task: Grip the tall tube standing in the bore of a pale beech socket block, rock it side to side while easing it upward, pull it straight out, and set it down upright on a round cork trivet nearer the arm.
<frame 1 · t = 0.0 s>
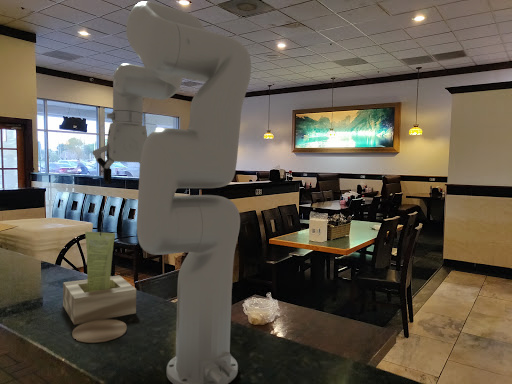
hand: (126, 184, 104), 31 cm above the counter, fingers open, 9 cm apart
tube: (98, 310, 97), resting in socket block
trivet: (100, 331, 85), on the counter
socket block: (98, 309, 97), on the counter
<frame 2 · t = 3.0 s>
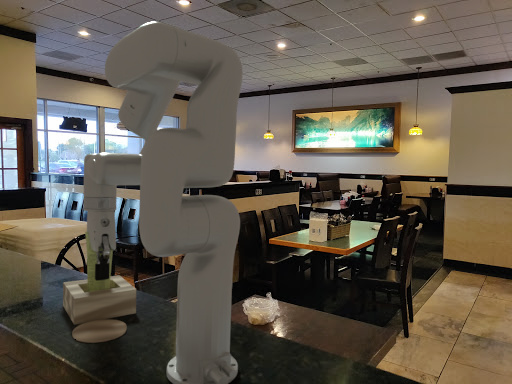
hand: (99, 275, 97), 8 cm above the counter, fingers closed on tube, 4 cm apart
tube: (98, 310, 97), resting in socket block, touching gripper
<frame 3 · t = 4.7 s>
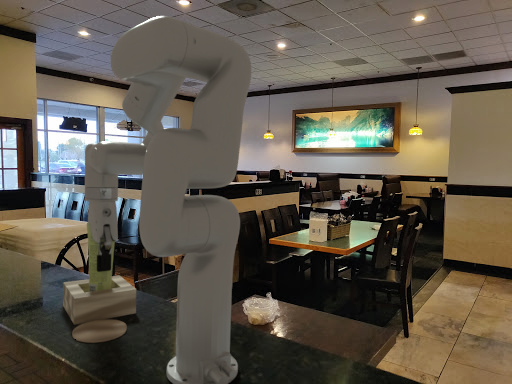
hand: (100, 267, 96), 11 cm above the counter, fingers closed on tube, 4 cm apart
tube: (100, 302, 96), point 2 cm above the counter, touching gripper
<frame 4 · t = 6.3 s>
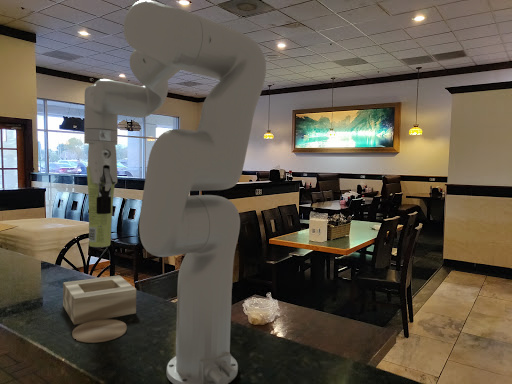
hand: (100, 211, 96), 25 cm above the counter, fingers closed on tube, 4 cm apart
tube: (100, 246, 96), point 16 cm above the counter, touching gripper
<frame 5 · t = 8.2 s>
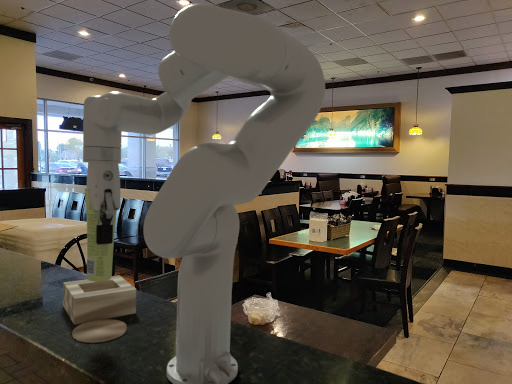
hand: (100, 240, 83), 20 cm above the counter, fingers closed on tube, 4 cm apart
tube: (100, 280, 84), point 11 cm above the counter, touching gripper
when the fingers open (10 cm above the counter, at t = 9.9 s): tube drops 1 cm, resting on trivet.
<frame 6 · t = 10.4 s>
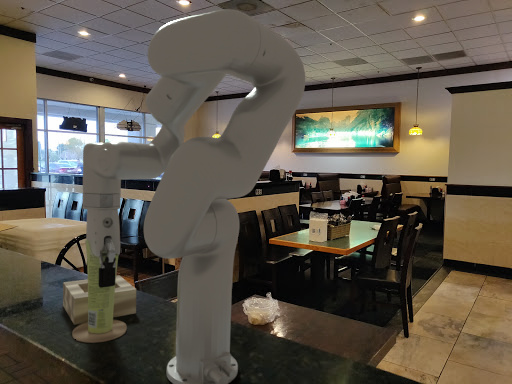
hand: (100, 280, 84), 11 cm above the counter, fingers open, 9 cm apart
tube: (101, 330, 84), resting on trivet
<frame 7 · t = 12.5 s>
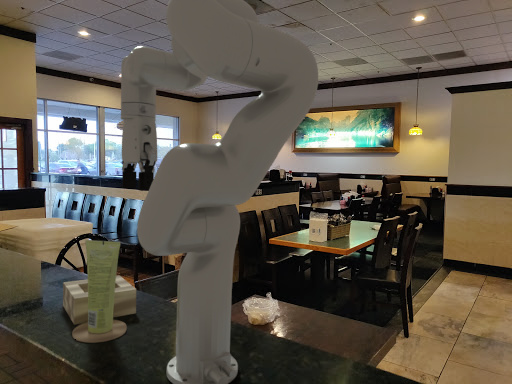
hand: (137, 189, 88), 31 cm above the counter, fingers open, 9 cm apart
nothing on the counter moved.
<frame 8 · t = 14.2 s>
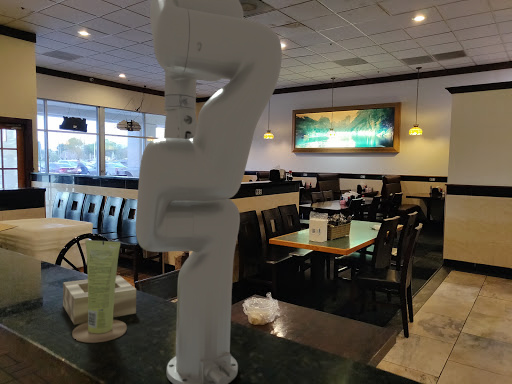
hand: (178, 175, 96), 34 cm above the counter, fingers open, 9 cm apart
nothing on the counter moved.
at the end: tube inside the target area on the trivet (0.5 cm from its centre), point 0.3 cm above the trivet's base; tube tilted 0°; the gripper is holding nothing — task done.
